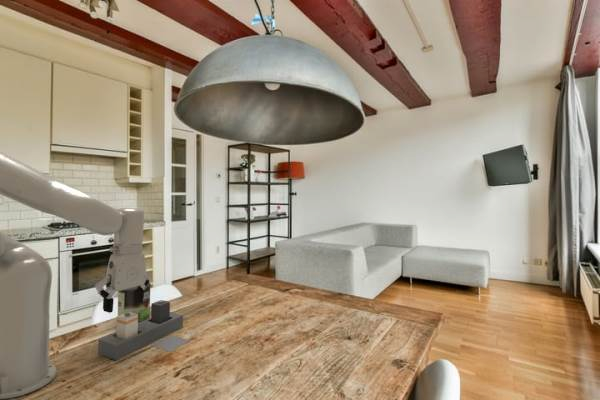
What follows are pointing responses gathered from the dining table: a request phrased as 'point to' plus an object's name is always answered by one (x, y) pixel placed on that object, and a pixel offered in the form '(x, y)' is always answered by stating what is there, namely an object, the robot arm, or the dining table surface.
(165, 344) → the mat
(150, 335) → the dark grey socket base
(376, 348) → the dining table surface
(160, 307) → the twin plug
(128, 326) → the plug
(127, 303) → the coffee can
